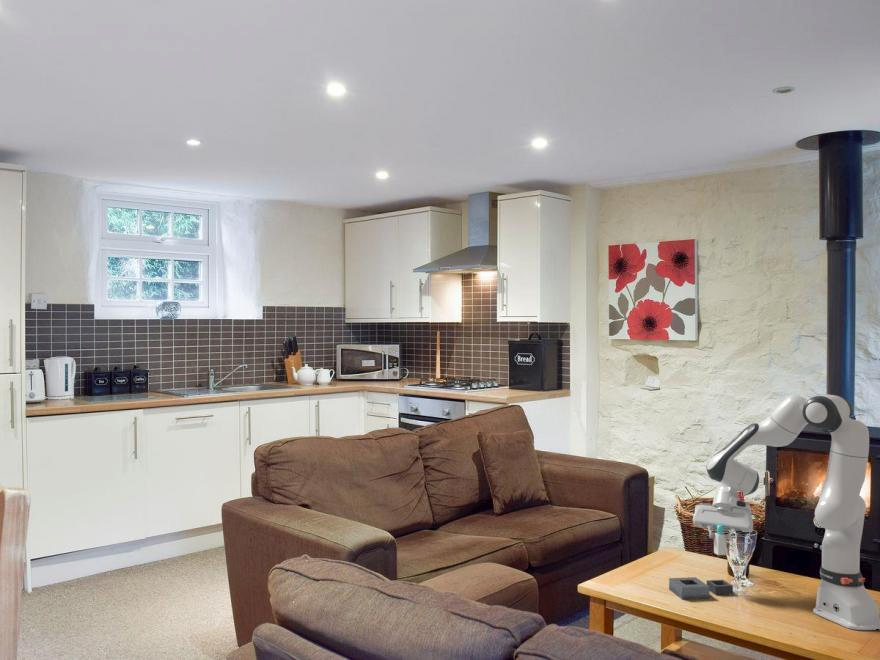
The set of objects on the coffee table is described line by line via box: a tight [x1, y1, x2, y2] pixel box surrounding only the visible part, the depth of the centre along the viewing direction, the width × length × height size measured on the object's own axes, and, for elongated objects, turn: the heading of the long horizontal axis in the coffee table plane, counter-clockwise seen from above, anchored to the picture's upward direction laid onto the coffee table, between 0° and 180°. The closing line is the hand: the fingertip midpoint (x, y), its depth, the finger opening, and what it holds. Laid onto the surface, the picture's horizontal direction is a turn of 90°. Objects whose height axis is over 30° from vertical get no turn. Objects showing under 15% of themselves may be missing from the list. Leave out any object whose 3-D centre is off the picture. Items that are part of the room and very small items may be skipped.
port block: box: [668, 576, 710, 600], centre depth 264 cm, size 10×10×4 cm
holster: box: [706, 579, 734, 596], centre depth 267 cm, size 6×6×3 cm
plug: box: [713, 525, 727, 556], centre depth 267 cm, size 3×3×10 cm
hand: (719, 539), depth 266 cm, fingers closed on plug, 4 cm apart
